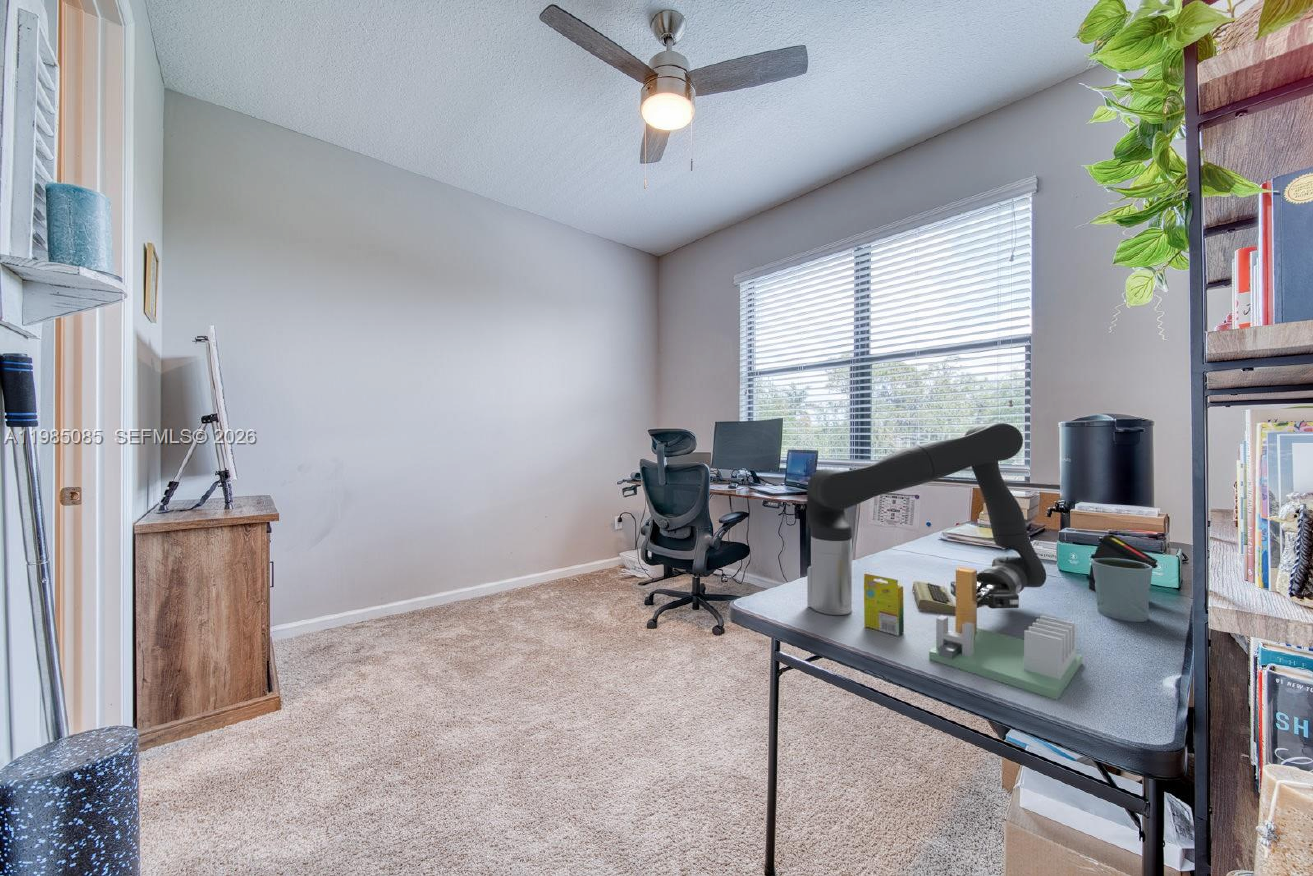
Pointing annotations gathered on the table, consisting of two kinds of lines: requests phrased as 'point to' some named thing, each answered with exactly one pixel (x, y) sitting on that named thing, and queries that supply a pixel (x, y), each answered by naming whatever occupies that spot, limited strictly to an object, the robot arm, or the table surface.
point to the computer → (933, 598)
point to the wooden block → (963, 608)
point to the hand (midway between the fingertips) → (968, 603)
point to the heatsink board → (1016, 654)
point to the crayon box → (883, 605)
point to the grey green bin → (1122, 588)
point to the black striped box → (1118, 554)
